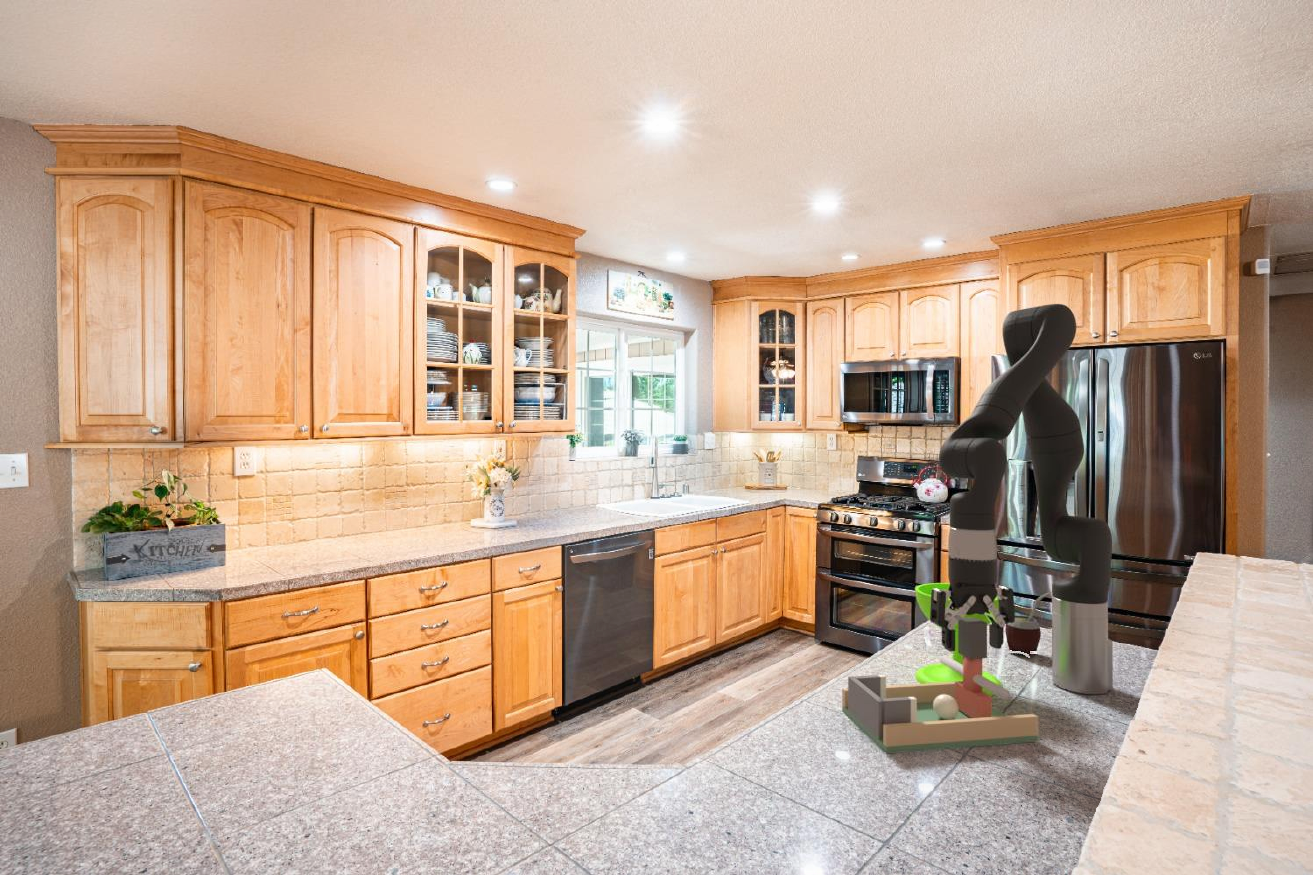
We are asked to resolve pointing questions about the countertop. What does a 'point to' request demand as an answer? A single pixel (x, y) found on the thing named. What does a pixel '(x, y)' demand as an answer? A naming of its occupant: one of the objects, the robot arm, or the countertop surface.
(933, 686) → the pitch
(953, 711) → the ball
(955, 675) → the wineglass
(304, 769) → the countertop surface
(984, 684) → the striker
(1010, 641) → the mate gourd
